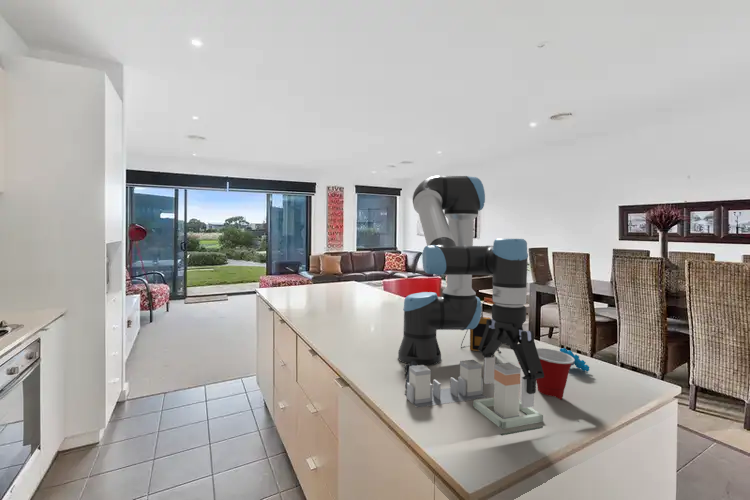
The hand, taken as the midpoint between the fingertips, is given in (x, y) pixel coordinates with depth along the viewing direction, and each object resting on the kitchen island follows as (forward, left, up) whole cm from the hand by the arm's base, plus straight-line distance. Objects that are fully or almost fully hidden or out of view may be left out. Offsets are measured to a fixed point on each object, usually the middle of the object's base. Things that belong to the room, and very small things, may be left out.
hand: (507, 394), depth 85 cm
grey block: (-13, -16, -5) cm, 22 cm away
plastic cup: (-7, +20, -6) cm, 22 cm away
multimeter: (-50, +28, -6) cm, 58 cm away
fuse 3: (0, 0, -5) cm, 5 cm away
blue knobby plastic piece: (-21, +43, -6) cm, 48 cm away
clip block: (-13, -9, -6) cm, 17 cm away
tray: (0, 0, -6) cm, 6 cm away
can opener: (-24, -13, -7) cm, 29 cm away
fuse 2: (-13, -2, -5) cm, 14 cm away
